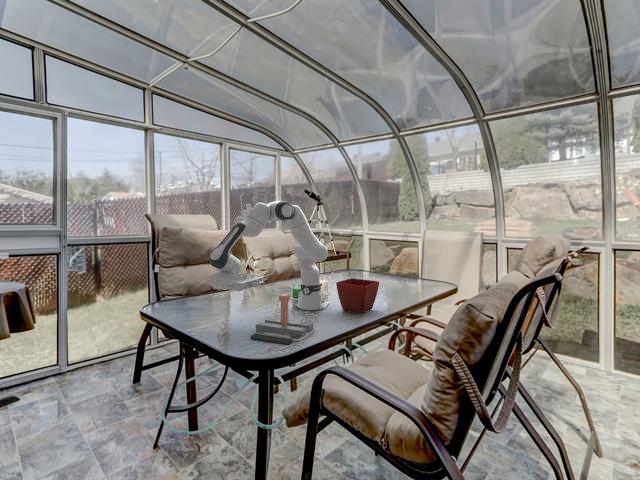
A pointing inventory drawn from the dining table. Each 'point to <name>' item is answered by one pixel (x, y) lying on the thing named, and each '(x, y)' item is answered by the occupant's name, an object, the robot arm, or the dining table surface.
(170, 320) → the dining table surface
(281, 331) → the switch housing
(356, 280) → the plant pot
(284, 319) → the breaker handle
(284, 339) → the twin grey rods
